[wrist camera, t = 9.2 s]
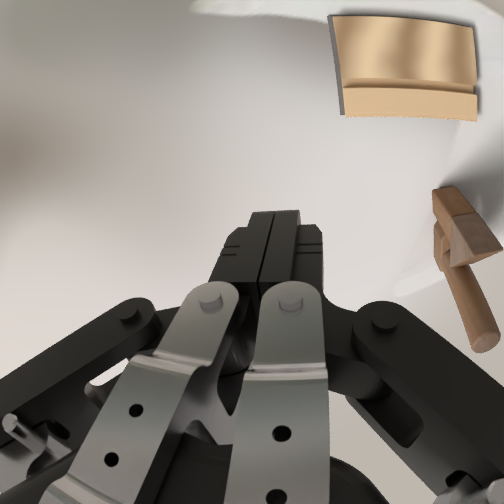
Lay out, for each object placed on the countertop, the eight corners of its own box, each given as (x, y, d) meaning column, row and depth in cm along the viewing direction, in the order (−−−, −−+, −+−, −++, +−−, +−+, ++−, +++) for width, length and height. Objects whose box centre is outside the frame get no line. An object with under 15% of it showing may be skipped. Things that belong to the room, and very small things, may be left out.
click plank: (467, 28, 21) (472, 28, 20) (471, 84, 25) (477, 86, 24) (332, 18, 25) (333, 16, 24) (341, 77, 29) (342, 78, 28)
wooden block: (455, 184, 33) (521, 274, 19) (454, 252, 38) (497, 350, 24) (430, 188, 34) (487, 282, 20) (432, 256, 40) (469, 358, 25)
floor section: (468, 26, 21) (475, 26, 20) (473, 118, 27) (480, 122, 26) (327, 16, 25) (327, 14, 24) (340, 114, 32) (341, 117, 30)
